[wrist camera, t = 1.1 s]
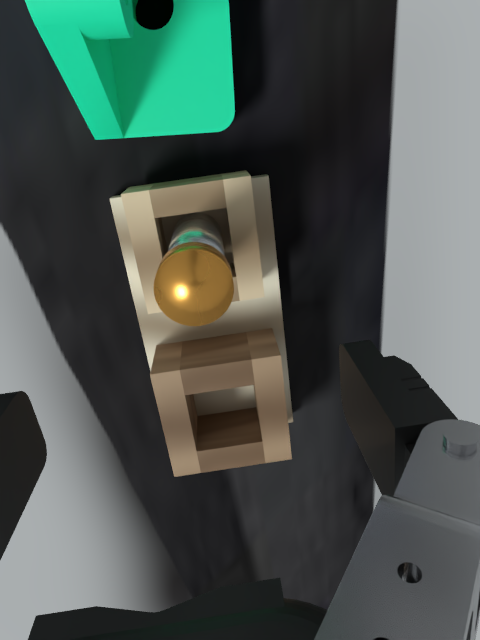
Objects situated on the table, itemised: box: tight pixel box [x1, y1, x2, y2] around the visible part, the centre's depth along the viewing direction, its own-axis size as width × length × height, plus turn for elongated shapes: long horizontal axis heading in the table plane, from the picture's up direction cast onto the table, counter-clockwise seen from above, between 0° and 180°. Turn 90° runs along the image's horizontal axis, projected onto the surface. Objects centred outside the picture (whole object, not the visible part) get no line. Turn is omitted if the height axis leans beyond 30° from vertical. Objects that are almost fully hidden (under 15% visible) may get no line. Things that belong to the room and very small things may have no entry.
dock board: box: [110, 170, 293, 477], centre depth 30 cm, size 18×10×5 cm, turn 7°
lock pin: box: [154, 212, 234, 326], centre depth 24 cm, size 3×3×10 cm
